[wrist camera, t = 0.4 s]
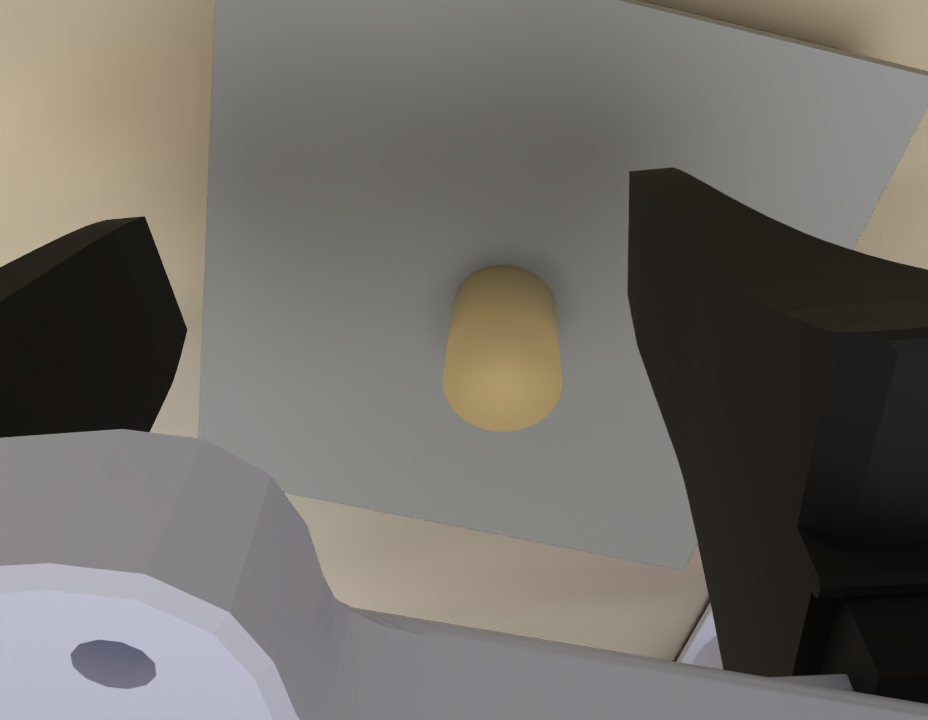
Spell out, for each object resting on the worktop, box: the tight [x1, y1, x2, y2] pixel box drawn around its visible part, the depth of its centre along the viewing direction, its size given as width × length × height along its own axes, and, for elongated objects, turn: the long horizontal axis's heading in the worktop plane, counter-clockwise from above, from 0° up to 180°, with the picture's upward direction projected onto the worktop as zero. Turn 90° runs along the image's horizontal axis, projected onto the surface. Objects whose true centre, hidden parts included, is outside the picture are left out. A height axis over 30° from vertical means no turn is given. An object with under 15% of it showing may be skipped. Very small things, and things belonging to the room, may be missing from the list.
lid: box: [198, 0, 928, 571], centre depth 19 cm, size 15×15×4 cm
